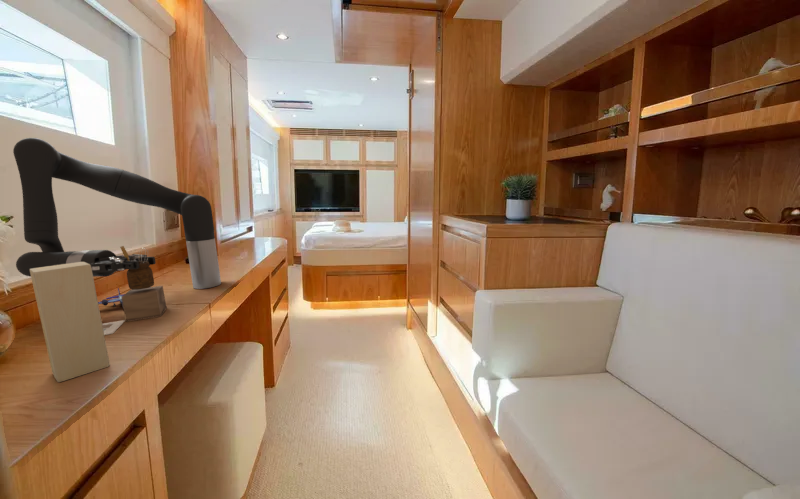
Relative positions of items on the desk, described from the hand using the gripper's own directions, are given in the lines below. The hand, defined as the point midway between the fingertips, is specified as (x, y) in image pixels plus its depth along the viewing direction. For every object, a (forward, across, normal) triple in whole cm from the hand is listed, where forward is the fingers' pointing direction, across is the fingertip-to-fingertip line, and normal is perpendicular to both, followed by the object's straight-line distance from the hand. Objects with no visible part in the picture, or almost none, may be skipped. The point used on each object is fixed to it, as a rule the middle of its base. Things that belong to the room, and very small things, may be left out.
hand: (146, 262), depth 100 cm
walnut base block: (-2, 0, +15) cm, 15 cm away
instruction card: (-5, -11, +15) cm, 20 cm away
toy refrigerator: (+11, -30, +15) cm, 36 cm away
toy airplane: (-17, +7, +16) cm, 24 cm away
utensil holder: (-3, 0, +7) cm, 8 cm away
